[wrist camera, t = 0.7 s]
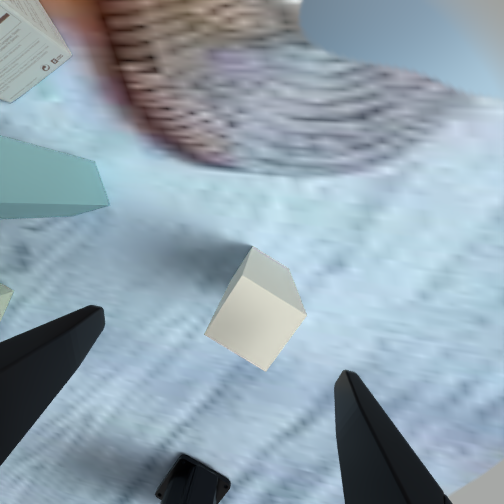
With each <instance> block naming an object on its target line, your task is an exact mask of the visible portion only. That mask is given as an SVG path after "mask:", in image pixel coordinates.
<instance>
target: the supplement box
mask: <svg viewBox="0 0 504 504" xmlns="http://www.w3.org/2000/svg"><path fill="white" fill-rule="evenodd" d="M71 56H72V54H71V52H70V50H69V49H68V47H67V45H66V44H65V42H64V40H63V39H62V37H61V35H60V34H59V32H58V31H57V29H56V27H55V26H54V24H53V23H52V21H51V19H50V18H49V16H48V15H47V13H46V11H45V10H44V8H43V7H42V5H41V3H40V2H39V0H0V99H1V100H4V101H6V102H9V103H12V102H13V101H15V100H16V99H18V98H19V97H21V96H22V95H23V94H24V93H26V92H27V91H28V90H30V89H31V88H32V87H34V86H35V85H36V84H37V83H39V82H40V81H41V80H43V79H44V78H45V77H47V76H48V75H49V74H50V73H52V72H53V71H54V70H56V69H57V68H58V67H59V66H61V65H62V64H63V63H64V62H66V61H67V60H68V59H69V58H70V57H71Z"/></svg>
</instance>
